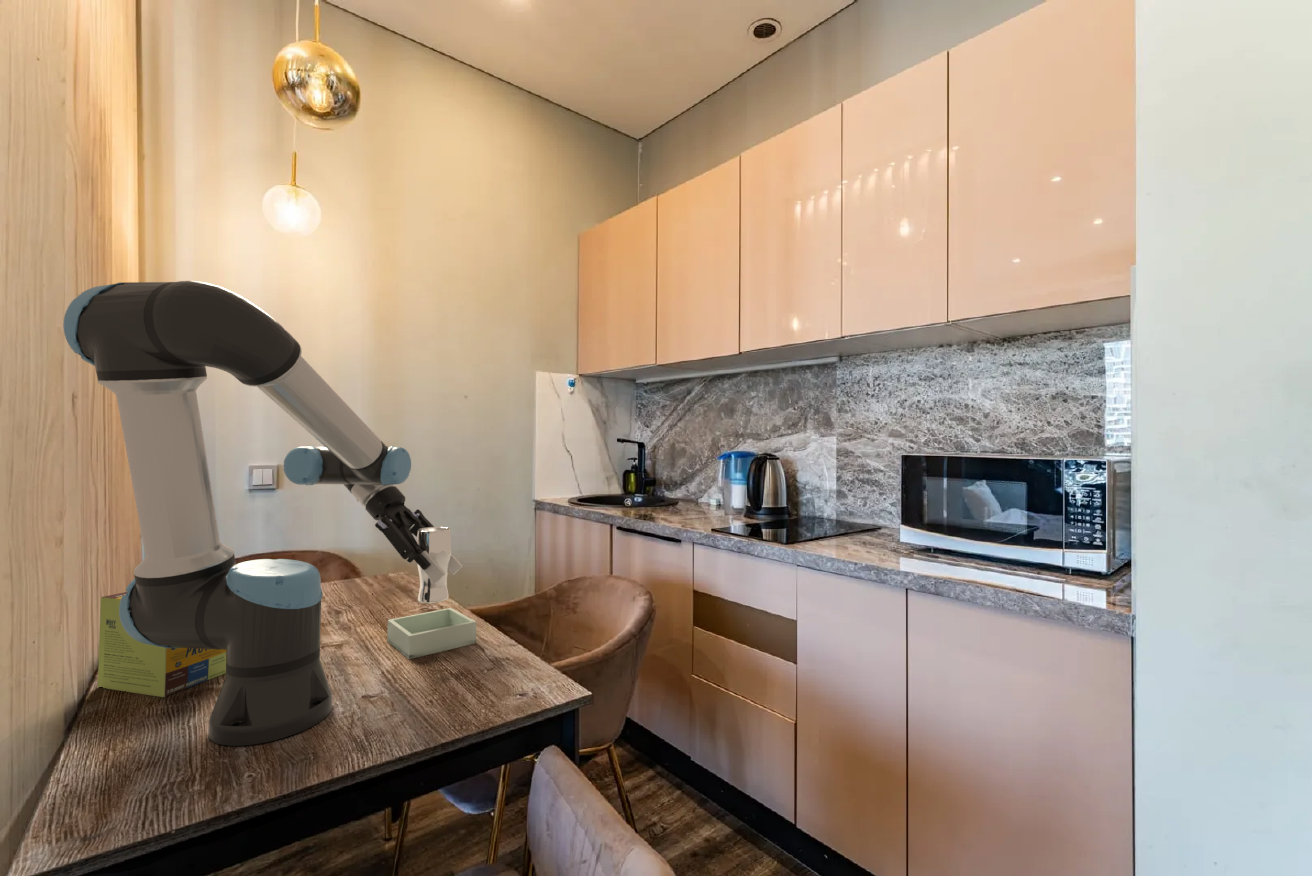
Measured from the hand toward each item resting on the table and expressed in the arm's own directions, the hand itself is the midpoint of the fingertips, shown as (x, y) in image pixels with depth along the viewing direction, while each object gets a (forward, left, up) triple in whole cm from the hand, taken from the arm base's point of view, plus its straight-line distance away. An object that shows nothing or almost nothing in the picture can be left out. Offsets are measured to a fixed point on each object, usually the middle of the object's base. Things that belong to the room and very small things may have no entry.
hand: (449, 574), depth 116 cm
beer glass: (+3, +2, -6) cm, 7 cm away
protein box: (+14, +45, -15) cm, 49 cm away
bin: (+2, +3, -14) cm, 15 cm away
